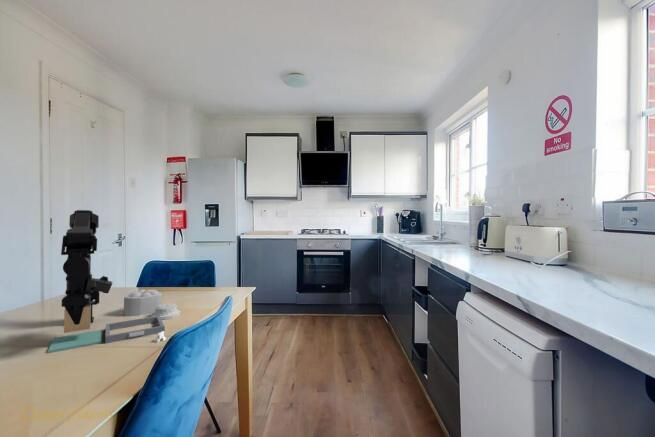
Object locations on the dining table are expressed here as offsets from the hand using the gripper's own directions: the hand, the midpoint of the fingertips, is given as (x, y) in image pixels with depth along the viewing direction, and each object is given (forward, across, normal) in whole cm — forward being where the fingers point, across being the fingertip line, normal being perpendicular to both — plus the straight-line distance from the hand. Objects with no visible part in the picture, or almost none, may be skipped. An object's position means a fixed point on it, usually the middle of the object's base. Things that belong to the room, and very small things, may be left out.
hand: (77, 322), depth 92 cm
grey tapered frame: (+6, 0, -15) cm, 16 cm away
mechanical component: (+6, +12, -26) cm, 30 cm away
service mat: (+6, 0, 0) cm, 6 cm away
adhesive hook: (+6, -13, -20) cm, 25 cm away
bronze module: (+2, 0, 0) cm, 2 cm away
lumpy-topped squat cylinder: (+6, +24, -19) cm, 31 cm away
